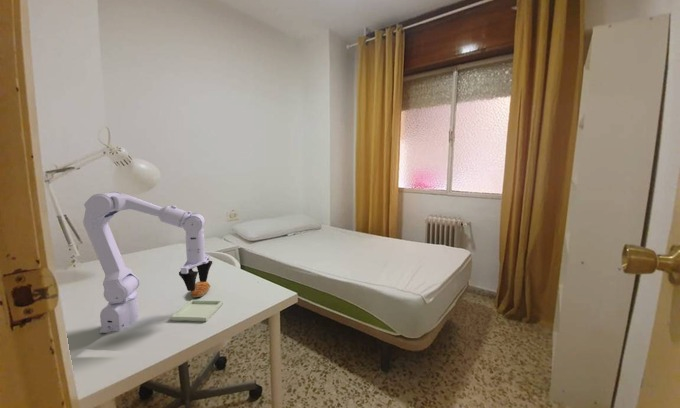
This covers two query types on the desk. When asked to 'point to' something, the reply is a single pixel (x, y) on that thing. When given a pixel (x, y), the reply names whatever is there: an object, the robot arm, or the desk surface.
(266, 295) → the desk surface
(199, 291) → the pastry
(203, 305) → the tray
